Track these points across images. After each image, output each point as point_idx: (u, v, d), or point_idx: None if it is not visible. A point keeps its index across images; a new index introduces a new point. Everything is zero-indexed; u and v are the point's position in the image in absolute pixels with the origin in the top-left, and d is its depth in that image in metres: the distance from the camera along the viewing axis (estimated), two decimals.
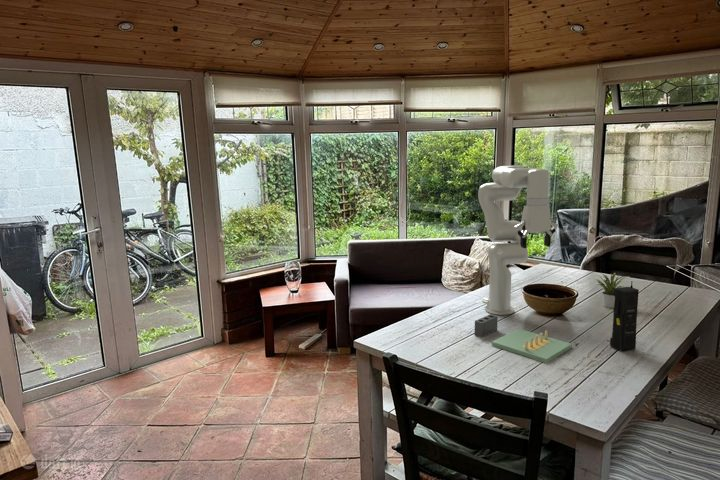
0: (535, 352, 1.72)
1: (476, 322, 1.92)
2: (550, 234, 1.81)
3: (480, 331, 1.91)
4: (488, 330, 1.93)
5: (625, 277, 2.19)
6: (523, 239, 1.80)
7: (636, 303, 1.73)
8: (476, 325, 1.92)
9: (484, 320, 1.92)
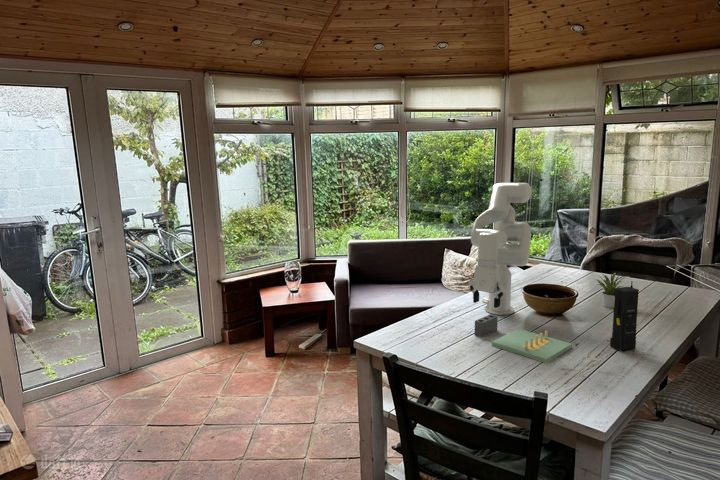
0: (535, 352, 1.72)
1: (476, 322, 1.92)
2: None
3: (480, 331, 1.91)
4: (488, 330, 1.93)
5: (625, 277, 2.19)
6: None
7: (636, 303, 1.73)
8: (476, 325, 1.92)
9: (484, 320, 1.92)
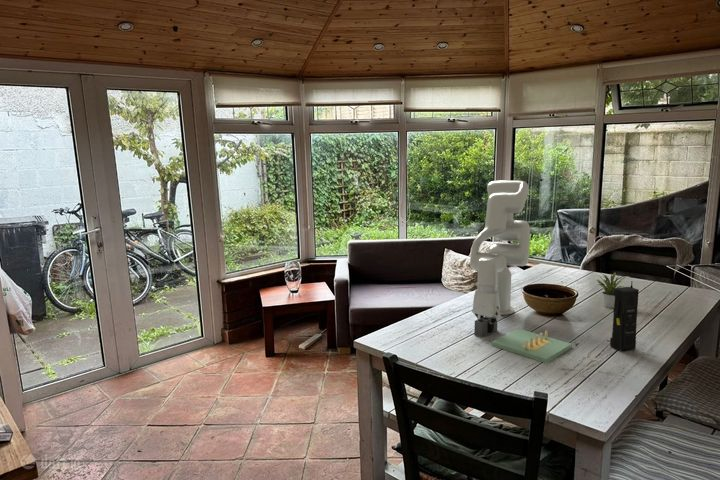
0: (535, 352, 1.72)
1: (476, 322, 1.92)
2: None
3: (480, 331, 1.91)
4: None
5: (625, 277, 2.19)
6: None
7: (636, 303, 1.73)
8: (476, 325, 1.92)
9: (484, 320, 1.92)
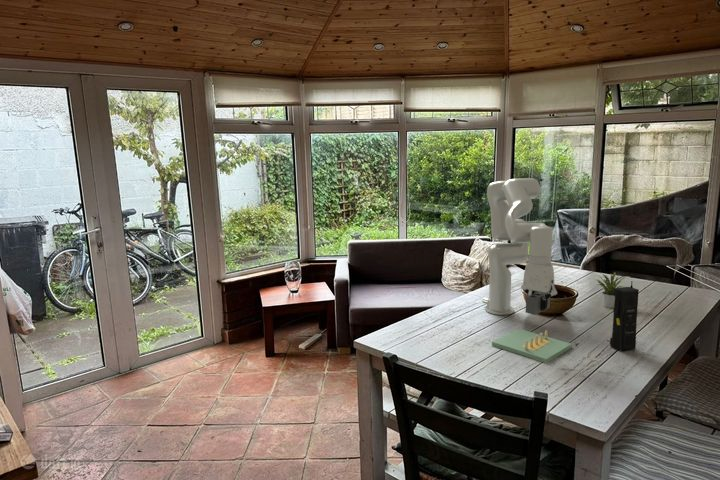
0: (535, 352, 1.72)
1: (528, 298, 1.73)
2: None
3: (532, 308, 1.72)
4: None
5: (624, 277, 2.19)
6: None
7: (636, 303, 1.73)
8: (527, 301, 1.73)
9: (536, 296, 1.73)
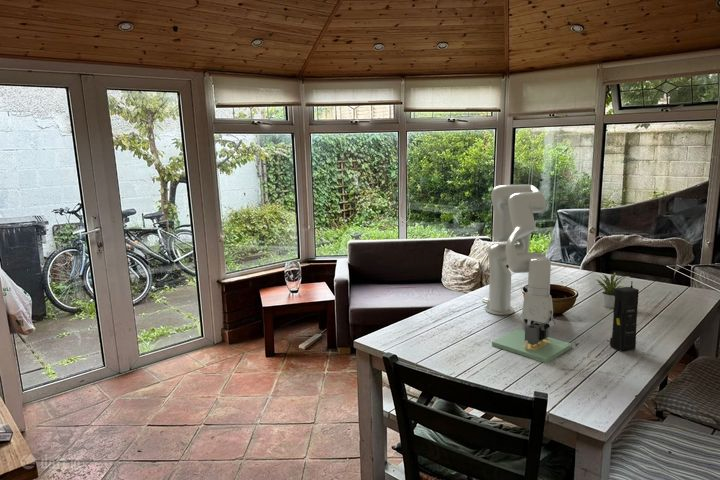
0: (535, 352, 1.72)
1: (527, 328, 1.75)
2: None
3: (531, 338, 1.74)
4: (539, 337, 1.76)
5: (625, 277, 2.19)
6: None
7: (636, 303, 1.73)
8: (526, 331, 1.75)
9: (535, 326, 1.75)
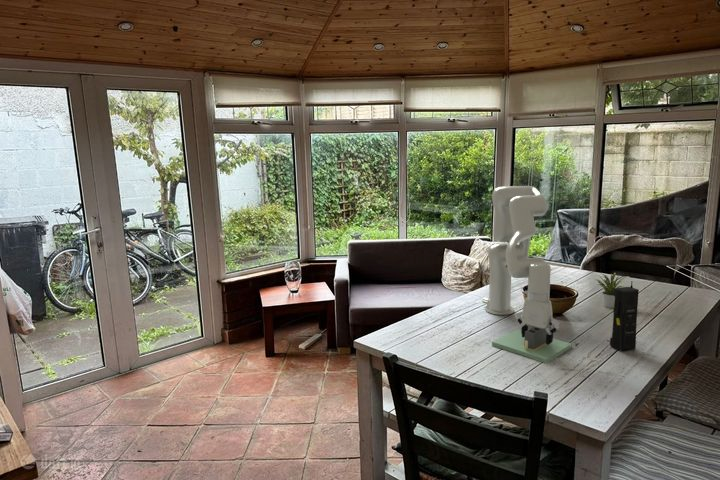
0: (535, 352, 1.72)
1: (526, 333, 1.75)
2: None
3: (531, 343, 1.74)
4: (539, 342, 1.77)
5: (625, 277, 2.19)
6: None
7: (636, 303, 1.73)
8: (526, 336, 1.75)
9: (535, 331, 1.76)
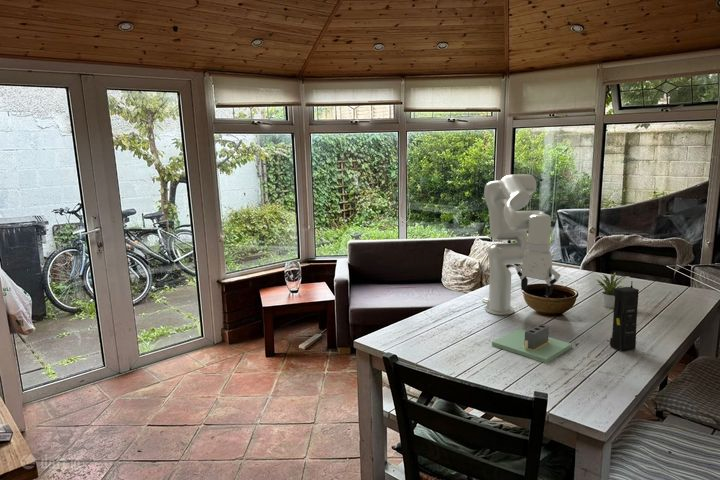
0: (535, 352, 1.72)
1: (526, 333, 1.75)
2: None
3: (531, 343, 1.74)
4: (539, 342, 1.77)
5: (625, 277, 2.19)
6: None
7: (636, 303, 1.73)
8: (526, 336, 1.75)
9: (535, 331, 1.76)
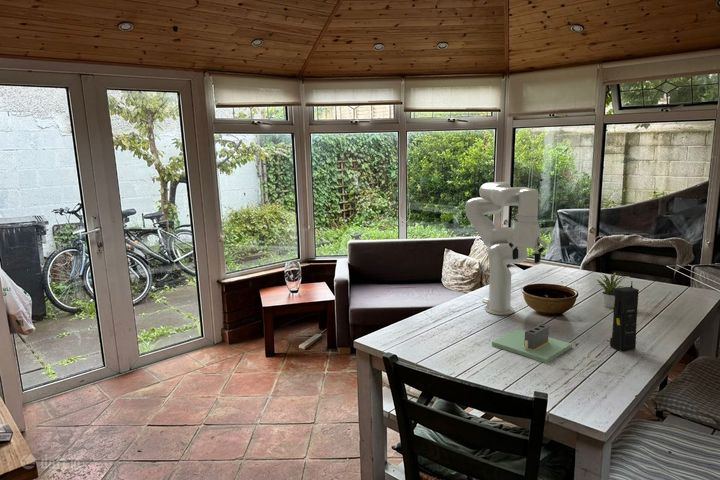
0: (535, 352, 1.72)
1: (526, 333, 1.75)
2: None
3: (531, 343, 1.74)
4: (539, 342, 1.77)
5: (625, 277, 2.19)
6: None
7: (636, 303, 1.73)
8: (526, 336, 1.75)
9: (535, 331, 1.76)
